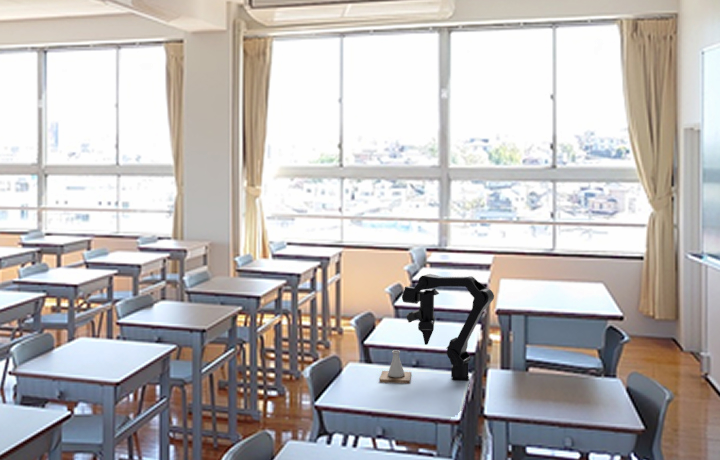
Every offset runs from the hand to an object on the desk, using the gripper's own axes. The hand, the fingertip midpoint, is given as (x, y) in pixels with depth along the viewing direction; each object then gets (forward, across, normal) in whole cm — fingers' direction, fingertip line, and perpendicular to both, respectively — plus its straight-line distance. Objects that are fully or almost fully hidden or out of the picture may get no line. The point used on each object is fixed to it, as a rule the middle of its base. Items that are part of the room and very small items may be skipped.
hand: (426, 341), depth 270 cm
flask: (+12, +10, -12) cm, 20 cm away
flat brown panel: (+14, +10, -12) cm, 21 cm away
